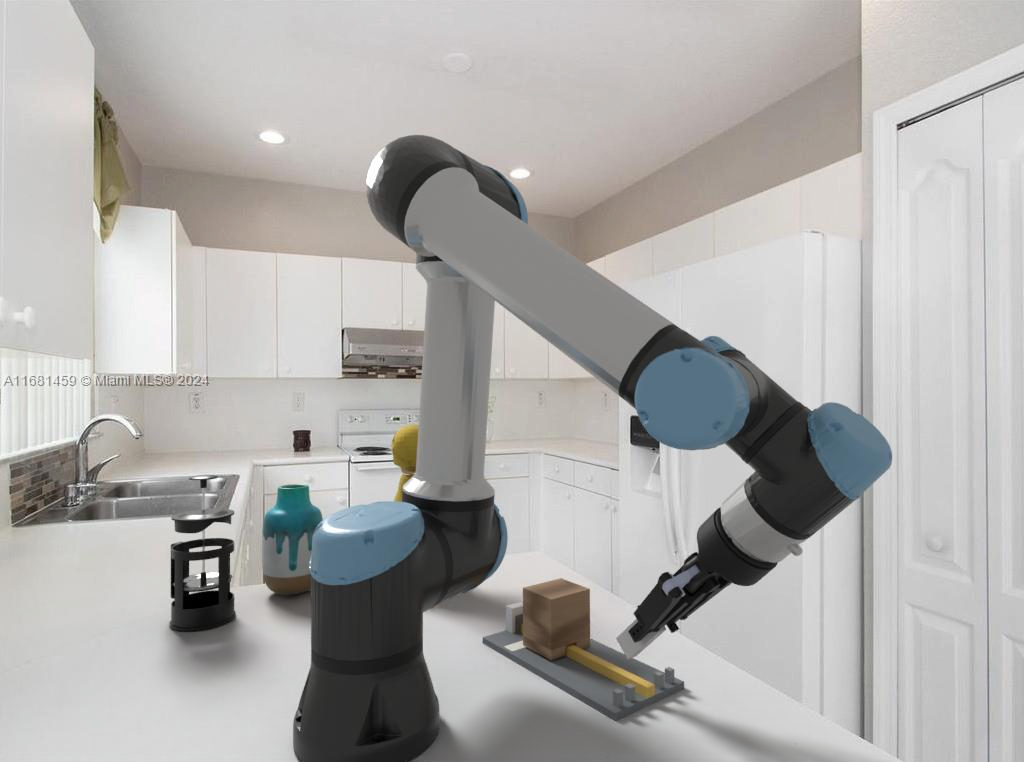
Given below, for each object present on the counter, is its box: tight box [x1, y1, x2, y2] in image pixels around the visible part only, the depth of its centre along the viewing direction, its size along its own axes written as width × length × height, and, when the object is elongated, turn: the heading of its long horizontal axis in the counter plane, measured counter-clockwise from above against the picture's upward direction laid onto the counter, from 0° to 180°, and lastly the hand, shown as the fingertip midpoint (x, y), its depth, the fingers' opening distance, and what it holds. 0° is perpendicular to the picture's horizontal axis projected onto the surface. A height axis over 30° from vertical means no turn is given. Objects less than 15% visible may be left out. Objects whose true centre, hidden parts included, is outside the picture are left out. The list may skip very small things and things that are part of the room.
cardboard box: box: [522, 577, 591, 660], centre depth 84 cm, size 6×7×8 cm
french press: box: [169, 474, 237, 633], centre depth 97 cm, size 12×9×23 cm
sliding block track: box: [482, 600, 685, 721], centre depth 81 cm, size 26×12×4 cm, turn 37°
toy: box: [390, 424, 419, 502], centre depth 115 cm, size 16×12×30 cm
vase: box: [261, 483, 324, 596], centre depth 111 cm, size 11×11×19 cm
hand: (626, 647), depth 74 cm, fingers closed
